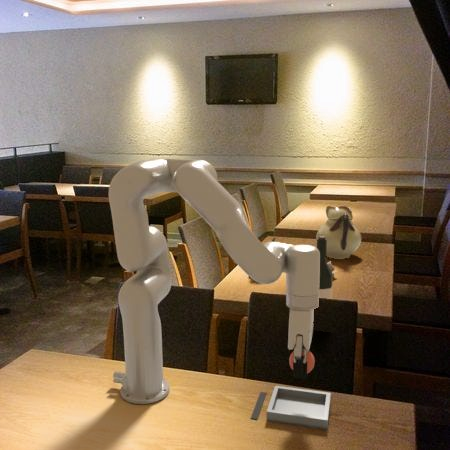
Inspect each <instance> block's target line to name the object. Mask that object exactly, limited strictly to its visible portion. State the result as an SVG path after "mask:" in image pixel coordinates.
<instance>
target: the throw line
mask: <svg viewBox="0 0 450 450" xmlns="http://www.w3.org/2000/svg"><path fill="white" fill-rule="evenodd" d="M266 397H267V392H265V391H260V392H259V396H258V398H257V400H256V403H255V406H254V408H253V411H252V413H251V417H250V419H251V420H257V421H258V419H259V416H260V413H261V411H262V408H263V405H264V401H265V399H266Z"/></svg>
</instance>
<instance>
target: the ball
mask: <svg viewBox="0 0 450 450" xmlns="http://www.w3.org/2000/svg"><path fill="white" fill-rule="evenodd" d="M302 349H304V348H302ZM289 355H290V356H289V359H288V360H289V361H288V362H289V363H288V364H289V366H290V369H291V370H292V371H293V360H294V350H293V351H292V352H291V354H289ZM302 355H303V356H304V352H302ZM315 361H316V359H315V356H314V354H313V353H312V352H311V350H310V351H309V350H308V351H307V353H306V362H307V374H309V373H311V371H312V370H313V369H314V368H315V363H316V362H315Z"/></svg>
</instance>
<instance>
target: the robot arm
mask: <svg viewBox="0 0 450 450" xmlns="http://www.w3.org/2000/svg"><path fill="white" fill-rule="evenodd" d="M162 192H163V193H165V192H167V193H177V194H178V195H179V196H180V197H181V198H182V199H183V200H184V201H185V202H186V203H187V205H189V206H190V207H191V208H192V209H193V210H194V211H195V212H196V213H197V214H198V215H199V216H200V217H201V218H202V219H203V220H204V221H205V223H207V224H208V225H209V227H211V228H212V230H213V231H214V232H215V235H216V236H217V238H218V240H219V242H220V243H221V245H222V246H223V248H224V250H225V251H226V253H227V254H228V255H229V256H230V258H231V259H232V261H233V262H234V263H235V264H236V265H237V266H238V267H239V268H240V269H241V270H242V271H243V272H244V273H245V274H246V275H247V276H248V277H250V279H252V280H254V281H255V282H257V283H259V284H262V285H271V284H273V283H275V282H277V281H278V280H279V279H280V277H281V276H282V275H283V273H284V274H285V275H286V284H285V285H286V287H285V288H286V289H285V291H286V293H285V294H286V296H285V301H286V302H285V305H286V307H288V308H289V315H288V317H289V318H288V336H287V337H288V340H287V349H288V350H289V351H291V350H293V351H294V360H293V370H292V377H293V378H295V379H305V380H306V379H308V373H307V362H306V353H307V351H308V350H309V351H310V352H311V349H310V348H311V344H312V338H313V334H314V323H313V322H314V309H316V308H318V307H319V281H320V252H319V250H318V249H317V246H314V245H310V244H288V243H284V242H278V241H274V242H271V241H266V242H264V243H263V242H262V241H260V240H259V238H258V237H257V236H256V235H255V234H254V233H253V231H252V230H251V228H250V227H249V225H248V222H247V221H246V218H245V214H244V209H243V207H242V205H241V204H240V202H239V201H238V200H237V199H236V198H235V197H234V196H233V195H232V194H230V193H229V191H228V190H227V189H226V188H225V187H224V186H223V185H222V184H221V183H220V182H219V181H218V172H217V171H216V169H215V167H214V166H213V164H211V163H210V162H208V161H206V160H205V159H204V160H203V159H183V158H182V159H180V158H179V159H177V158H161V157H160V158H159V157H157V158H151V159H144V160H140V161H136V162H132V163H130V164H128V165H126V166H124V167H122V168H121V169H120V170H119V171H118V172H117V173H115V175H114V176H113V177H112V178H111V181H110V183H109V188H108V201H109V206H110V207H109V208H110V212H111V219H112V226H113V227H112V228H113V234H114V240H115V247H116V256H117V259H118V262H119V264H120V266H121V267H122V268H123V269H125V270H126V271H129V272H136V273H134V274H133V275H132V276H131V277H129V278H128V279H127V280H126V281H125V282H124V283H123V284H122V285H121V287H120V290H119V293H118V297H117V298H118V301H117V302H118V306H119V310H120V314H121V319H122V320H121V321H122V331H123V344H124V345H123V346H124V347H123V348H124V349H123V350H124V366H125V372H122V371H118V370H114V372H113V374H112V377H113V383H114V384H121V385H122V386H121V387H120V396H121V398H122V400H124V401H126V402H128V403H129V404H130V403H131V404H136V405H148V404H153V403H157V402H159V401H160V400H163V399H164V398H165V397H166V396H167V395H168V394H169V393H170V383H169V382H168V380H166V379H165V378H164V368H163V367H164V366H163V364H164V362H163V338H162V336H163V335H162V323H161V322H162V321H161V318H160V315H159V311H158V305H159V304H160V303H161V302H162V300H164V299H165V298H166V297H167V295H168V294H169V293H170V290H171V288H172V272H171V263H170V257H169V256H170V255H169V249H168V243H167V240H166V237H165V236H164V234H163V232H161V230H160V229H158V228H156V227H155V226H152V225H149V216H148V211H147V208H146V206H145V204H144V200H145V198H148V197H150V196H153V195H156V194H159V193H162ZM302 348H304V349H302ZM302 352H304V356H303V355H302Z"/></svg>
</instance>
